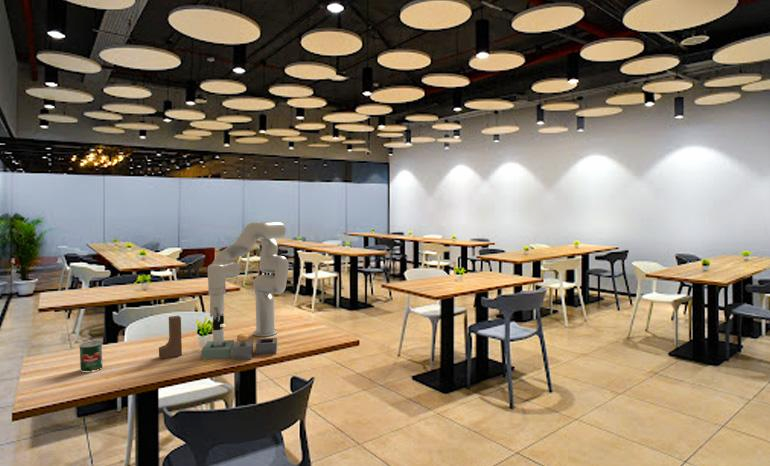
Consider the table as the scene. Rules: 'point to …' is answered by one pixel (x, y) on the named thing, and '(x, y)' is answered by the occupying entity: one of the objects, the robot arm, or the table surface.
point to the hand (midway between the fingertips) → (218, 326)
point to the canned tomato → (91, 356)
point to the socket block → (266, 346)
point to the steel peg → (218, 338)
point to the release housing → (243, 351)
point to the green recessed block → (217, 350)
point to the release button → (243, 338)
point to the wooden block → (172, 339)
